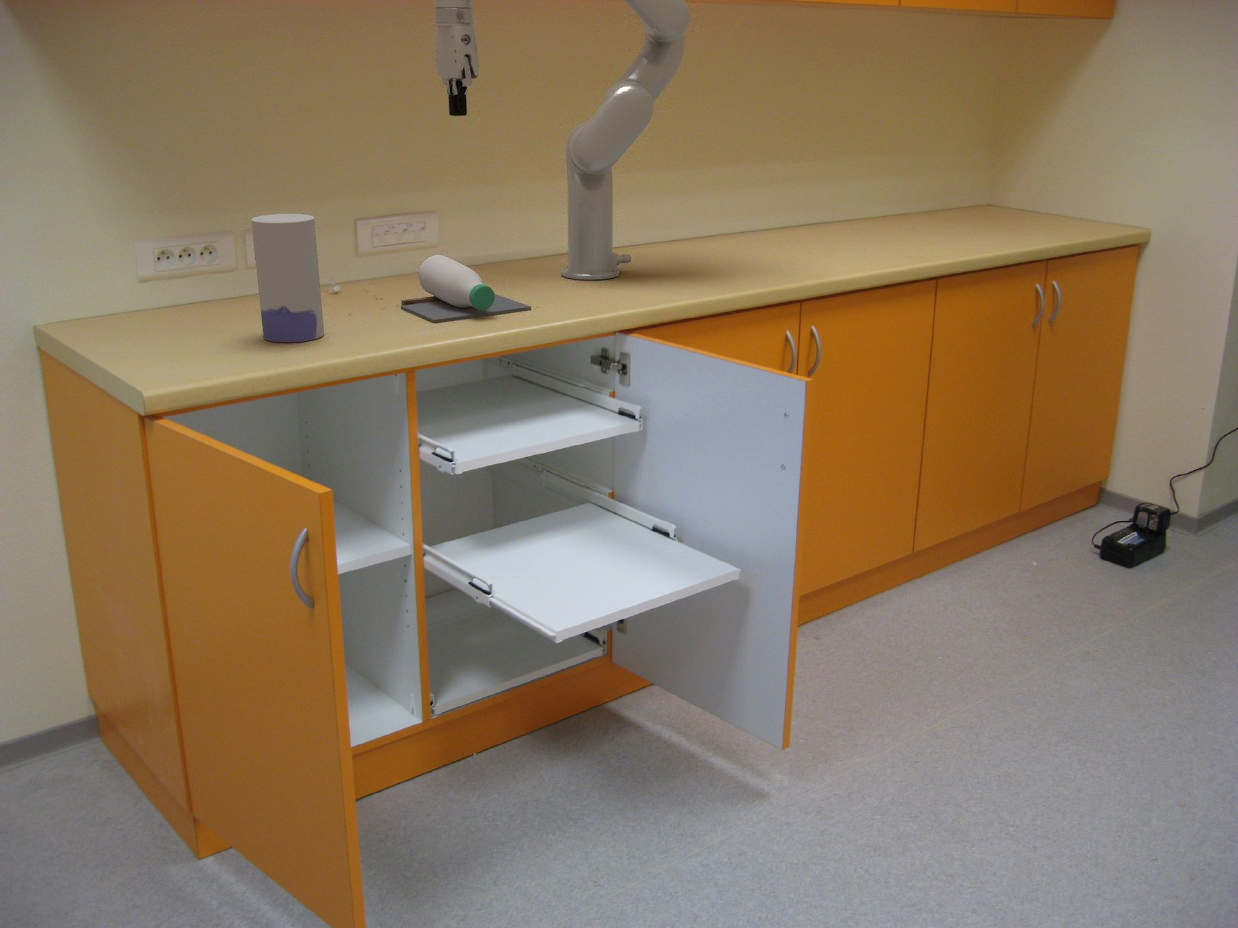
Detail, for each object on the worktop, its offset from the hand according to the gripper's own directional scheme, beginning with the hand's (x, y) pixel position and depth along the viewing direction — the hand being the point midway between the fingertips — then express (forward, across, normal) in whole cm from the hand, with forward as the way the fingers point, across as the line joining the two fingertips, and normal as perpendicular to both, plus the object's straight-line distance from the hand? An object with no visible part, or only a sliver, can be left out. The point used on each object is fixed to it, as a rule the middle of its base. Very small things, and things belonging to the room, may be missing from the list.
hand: (458, 115), depth 233 cm
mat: (+33, -28, +14) cm, 45 cm away
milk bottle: (+28, -16, +15) cm, 36 cm away
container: (+33, -30, +48) cm, 66 cm away
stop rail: (+33, -19, +14) cm, 41 cm away
